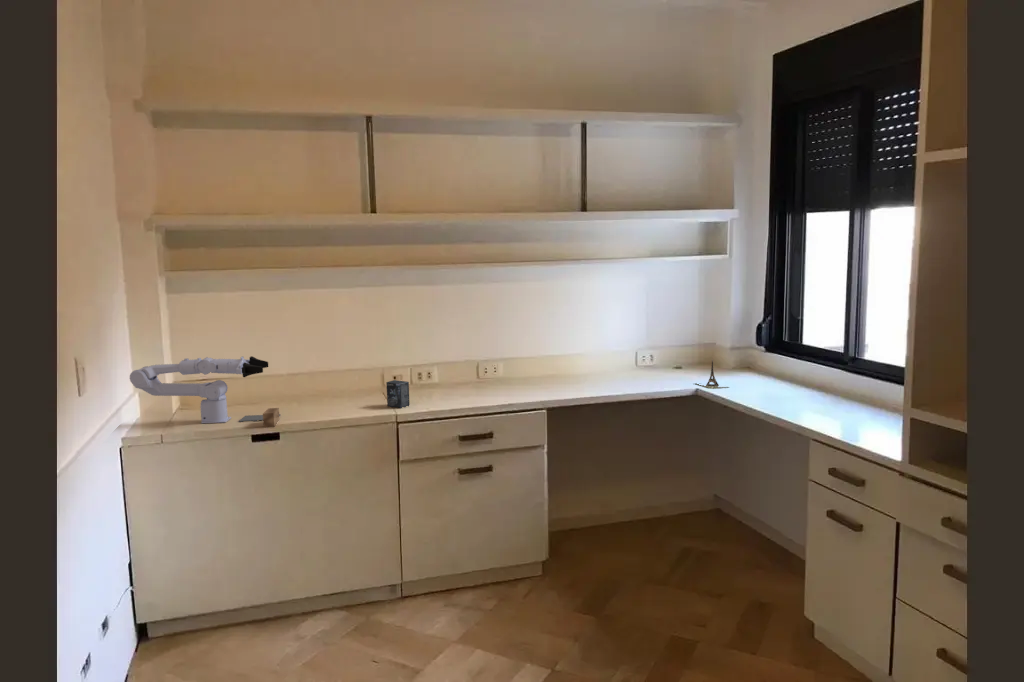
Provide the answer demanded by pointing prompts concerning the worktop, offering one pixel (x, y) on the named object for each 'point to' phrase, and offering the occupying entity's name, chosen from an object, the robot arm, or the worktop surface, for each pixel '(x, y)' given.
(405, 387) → the box
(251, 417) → the mat
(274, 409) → the walnut block
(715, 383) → the eiffel tower figurine
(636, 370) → the worktop surface
